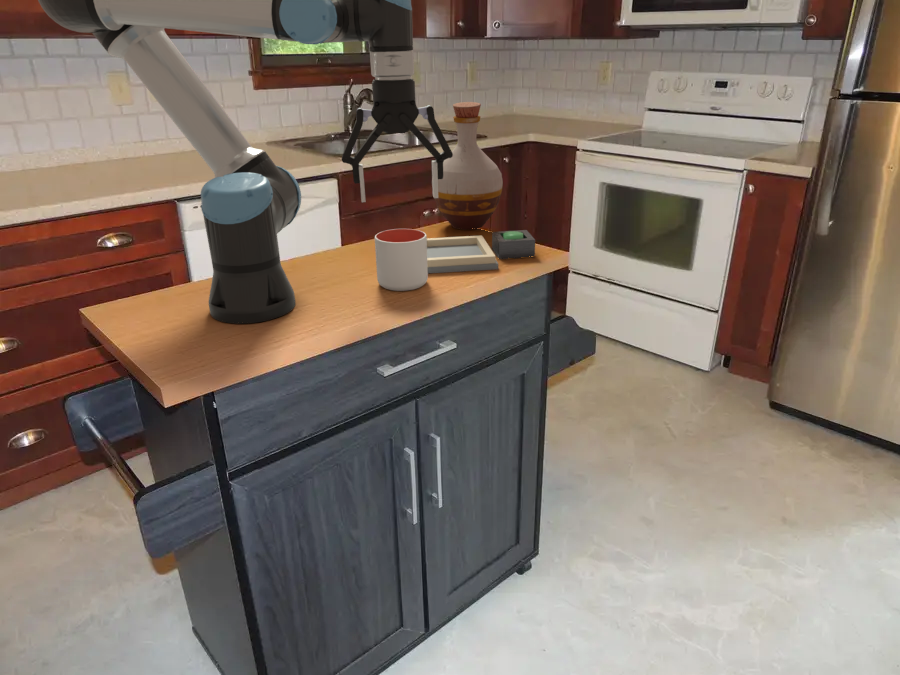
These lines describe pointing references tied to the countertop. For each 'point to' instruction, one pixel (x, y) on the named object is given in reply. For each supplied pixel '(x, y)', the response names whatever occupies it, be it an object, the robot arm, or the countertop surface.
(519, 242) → the dark grey square box
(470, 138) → the jug
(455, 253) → the tray
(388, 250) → the cup
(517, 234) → the button
